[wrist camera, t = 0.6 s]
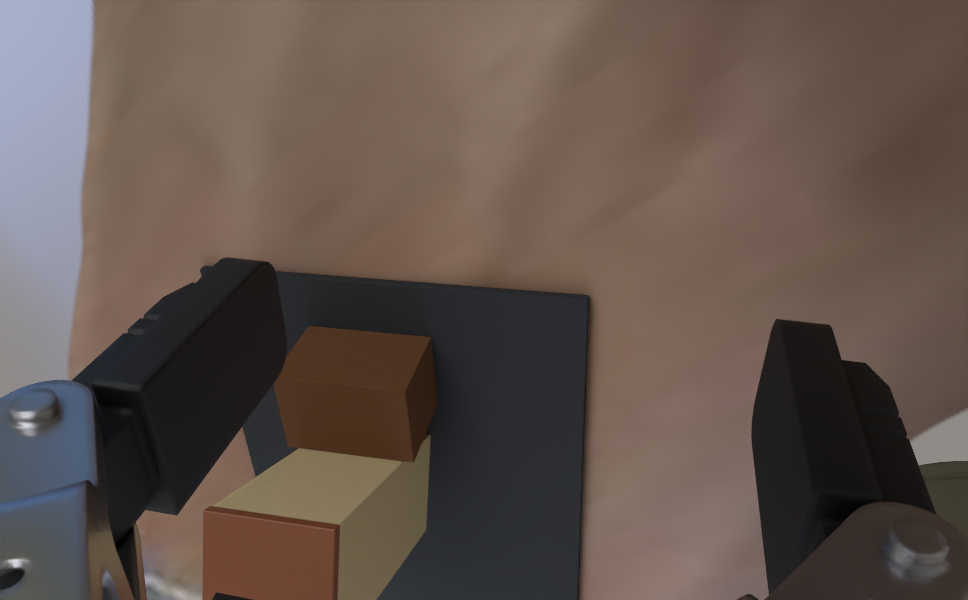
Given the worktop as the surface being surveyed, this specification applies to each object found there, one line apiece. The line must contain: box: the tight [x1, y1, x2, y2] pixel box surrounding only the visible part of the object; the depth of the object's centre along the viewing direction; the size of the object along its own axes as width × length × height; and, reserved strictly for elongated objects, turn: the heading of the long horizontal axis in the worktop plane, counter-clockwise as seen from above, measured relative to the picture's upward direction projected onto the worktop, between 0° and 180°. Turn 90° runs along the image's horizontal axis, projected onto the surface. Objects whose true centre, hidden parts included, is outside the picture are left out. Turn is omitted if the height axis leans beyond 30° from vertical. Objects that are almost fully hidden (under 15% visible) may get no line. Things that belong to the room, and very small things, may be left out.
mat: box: [200, 266, 589, 600], centre depth 39 cm, size 23×18×4 cm
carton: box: [203, 434, 431, 600], centre depth 33 cm, size 10×5×13 cm, turn 2°
